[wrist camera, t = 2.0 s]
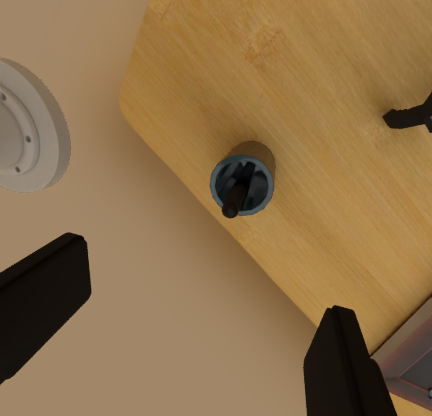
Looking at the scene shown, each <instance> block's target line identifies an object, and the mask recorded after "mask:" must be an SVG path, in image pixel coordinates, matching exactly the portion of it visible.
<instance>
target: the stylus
mask: <svg viewBox="0 0 432 416" xmlns="http://www.w3.org/2000/svg"><path fill="white" fill-rule="evenodd" d="M254 170H255V166H254V164H253V163H247V164H246V165H245V166H244V168H243V170H242V171H241V173H240V175H239V177H238V179H237V181H236V182H235V184H234V186H233V188H232V190H231V192H230V193H229V195H228V197H227V199H226V201H225V202H224V204H223V206H222V213H223V215H224V216H225V217H227V218H234V217H236V216H237V215H238V213H239V210H240V208H241V205H242V202H243V200H244V197H245V194H246V192H247V189H248V186H249V183H250V181H251V178H252V175H253V173H254Z"/></svg>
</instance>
